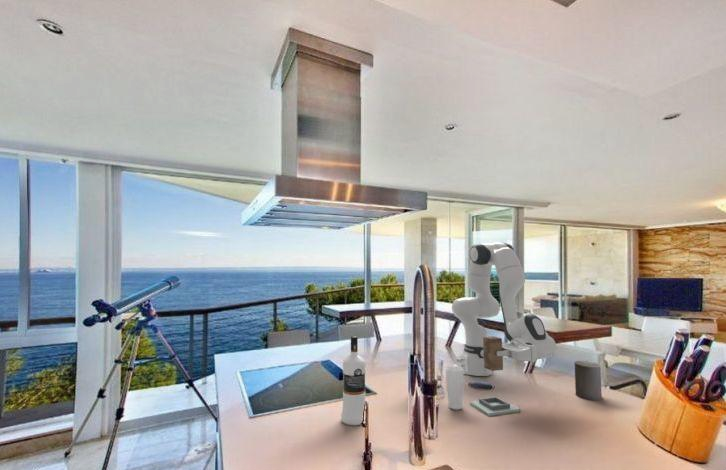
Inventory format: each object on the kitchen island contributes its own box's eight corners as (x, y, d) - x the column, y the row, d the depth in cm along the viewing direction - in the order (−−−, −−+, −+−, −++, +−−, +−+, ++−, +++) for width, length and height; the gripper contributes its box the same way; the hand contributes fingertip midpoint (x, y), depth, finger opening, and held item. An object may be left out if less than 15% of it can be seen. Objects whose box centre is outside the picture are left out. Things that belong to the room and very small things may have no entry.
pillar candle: (571, 395, 157) (570, 359, 158) (581, 390, 163) (580, 356, 164) (596, 402, 149) (594, 365, 150) (605, 397, 155) (604, 361, 156)
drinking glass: (444, 409, 142) (443, 369, 143) (449, 403, 148) (448, 365, 149) (462, 412, 139) (461, 371, 140) (466, 406, 145) (465, 367, 146)
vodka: (363, 414, 137) (363, 333, 139) (369, 425, 128) (369, 338, 130) (339, 417, 135) (339, 334, 137) (343, 427, 126) (344, 339, 128)
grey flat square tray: (470, 404, 147) (470, 398, 147) (499, 400, 151) (499, 394, 151) (488, 416, 135) (488, 409, 135) (519, 411, 139) (519, 404, 139)
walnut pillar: (484, 367, 146) (483, 337, 147) (494, 366, 147) (493, 336, 148) (492, 370, 141) (490, 339, 142) (503, 369, 142) (501, 338, 144)
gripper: (502, 337, 159) (475, 339, 155) (537, 346, 139) (507, 348, 135) (503, 351, 158) (475, 354, 154) (538, 363, 139) (508, 366, 134)
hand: (491, 351), depth 144 cm, fingers closed on walnut pillar, 5 cm apart
